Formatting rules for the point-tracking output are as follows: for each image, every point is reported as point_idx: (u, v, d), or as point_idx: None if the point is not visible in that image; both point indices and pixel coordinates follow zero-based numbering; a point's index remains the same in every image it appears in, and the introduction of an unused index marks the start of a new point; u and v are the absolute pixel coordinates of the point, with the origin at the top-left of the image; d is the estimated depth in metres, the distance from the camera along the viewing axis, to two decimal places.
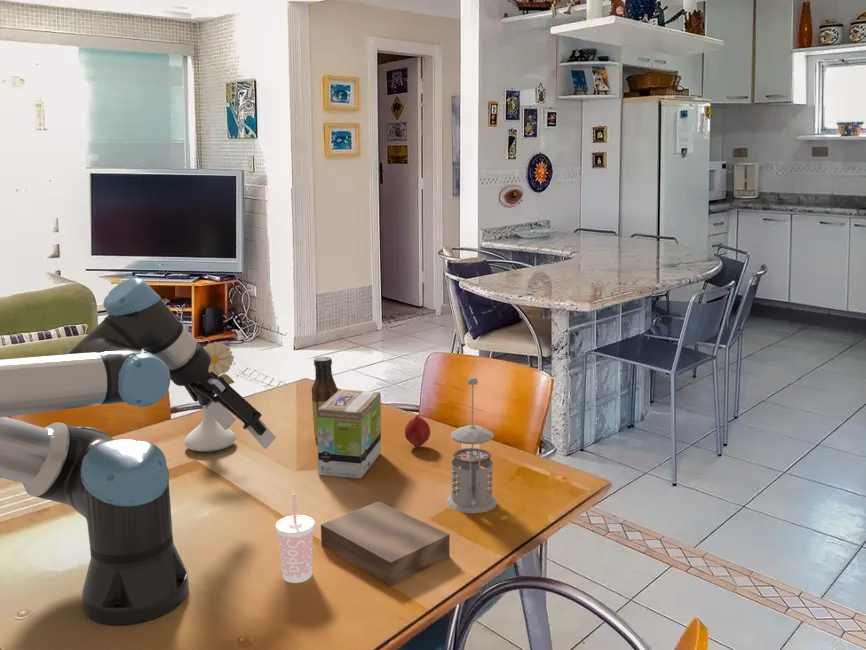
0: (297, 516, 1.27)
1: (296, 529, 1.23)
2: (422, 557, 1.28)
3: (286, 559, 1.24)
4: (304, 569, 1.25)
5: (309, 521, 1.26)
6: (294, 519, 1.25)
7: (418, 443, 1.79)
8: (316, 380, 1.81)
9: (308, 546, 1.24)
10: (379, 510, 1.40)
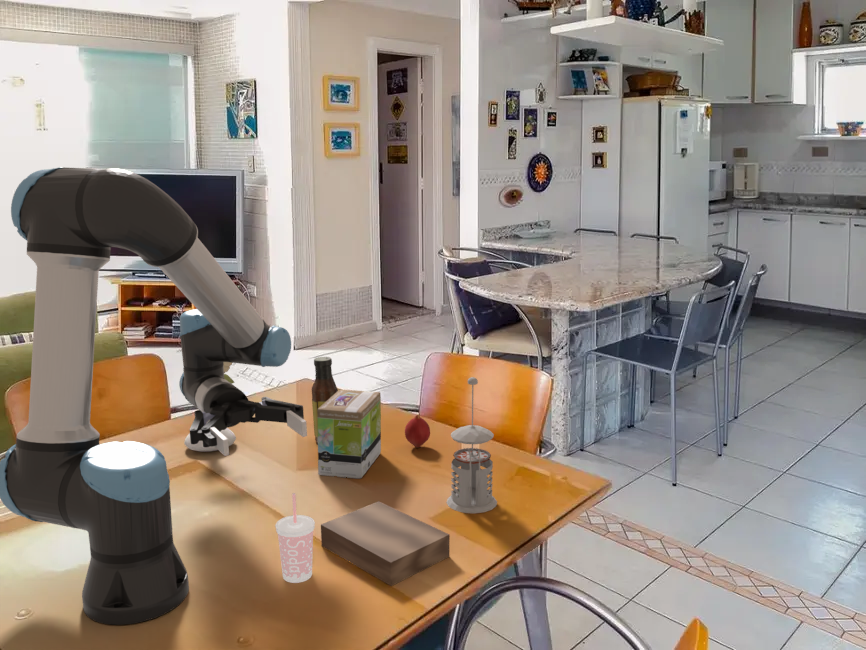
0: (297, 516, 1.27)
1: (296, 529, 1.23)
2: (422, 557, 1.28)
3: (286, 559, 1.24)
4: (304, 569, 1.25)
5: (309, 521, 1.26)
6: (294, 519, 1.25)
7: (418, 443, 1.79)
8: (316, 380, 1.81)
9: (308, 546, 1.24)
10: (379, 510, 1.40)
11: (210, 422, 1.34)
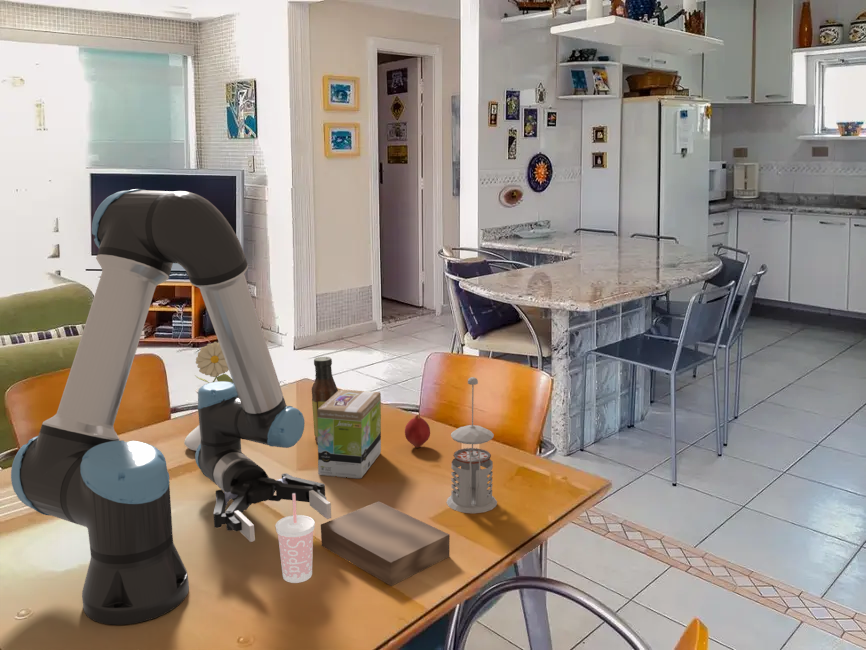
0: (297, 516, 1.27)
1: (296, 529, 1.23)
2: (422, 557, 1.28)
3: (286, 559, 1.24)
4: (304, 569, 1.25)
5: (309, 521, 1.26)
6: (294, 519, 1.25)
7: (418, 443, 1.79)
8: (316, 380, 1.81)
9: (308, 546, 1.24)
10: (379, 510, 1.40)
11: (233, 504, 1.33)
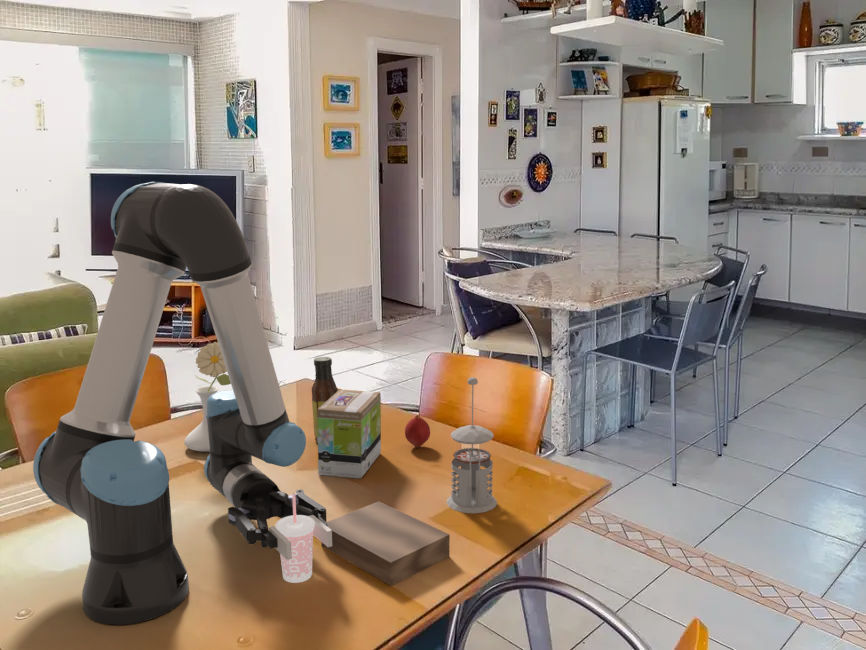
0: (297, 516, 1.27)
1: (296, 529, 1.23)
2: (422, 557, 1.28)
3: None
4: (304, 569, 1.25)
5: (309, 521, 1.26)
6: (294, 519, 1.25)
7: (418, 443, 1.79)
8: (316, 380, 1.81)
9: (308, 546, 1.24)
10: (379, 510, 1.40)
11: (261, 520, 1.27)
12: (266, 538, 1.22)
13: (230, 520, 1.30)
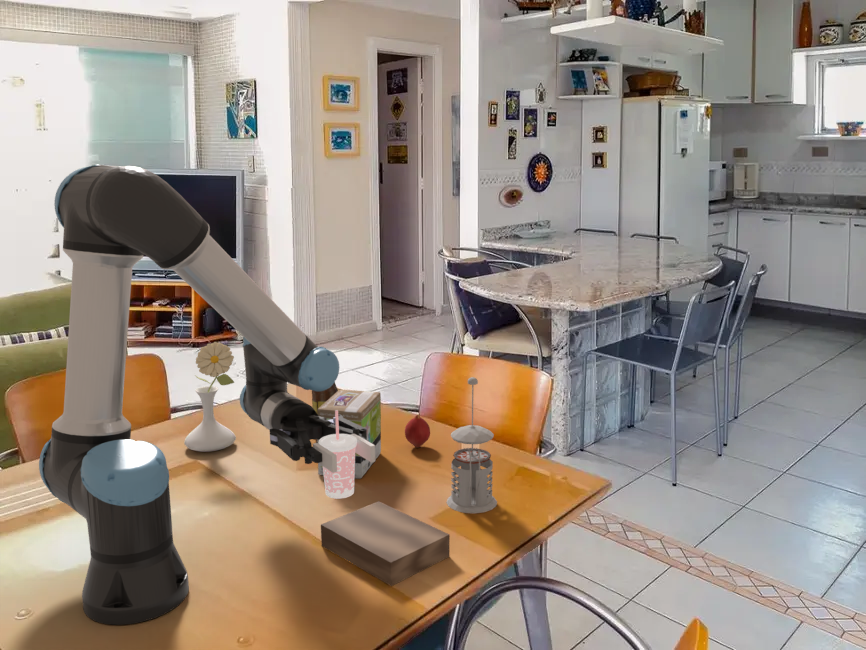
0: (339, 434, 1.29)
1: (339, 445, 1.25)
2: (422, 557, 1.28)
3: (330, 475, 1.26)
4: (347, 485, 1.26)
5: (351, 438, 1.28)
6: (337, 436, 1.26)
7: (418, 443, 1.79)
8: None
9: (351, 462, 1.26)
10: (379, 510, 1.40)
11: (304, 438, 1.28)
12: (310, 453, 1.24)
13: (272, 441, 1.32)
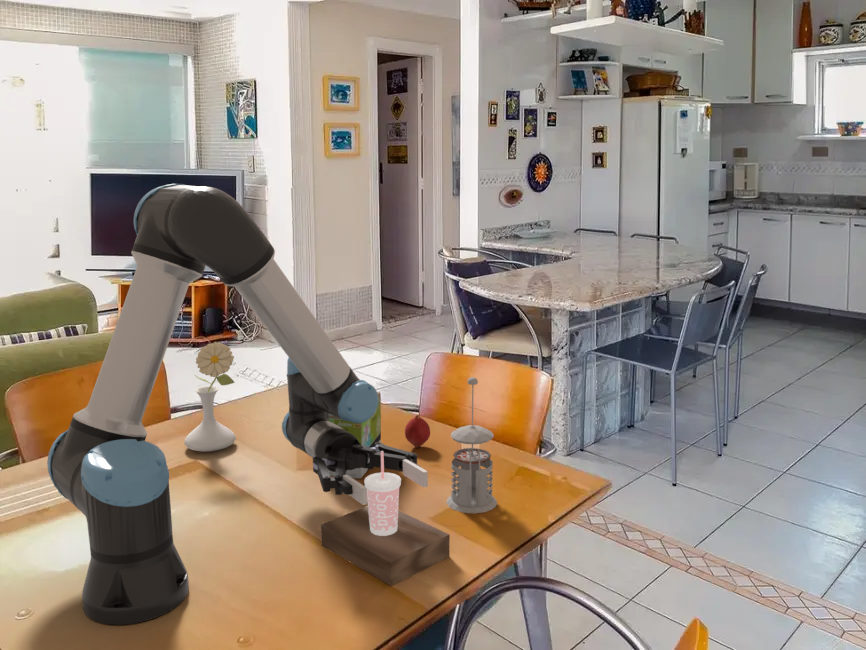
0: None
1: (385, 484, 1.30)
2: (422, 557, 1.28)
3: (375, 513, 1.30)
4: (391, 523, 1.31)
5: (395, 478, 1.32)
6: (382, 475, 1.31)
7: (418, 443, 1.79)
8: None
9: (396, 500, 1.31)
10: None
11: (338, 469, 1.33)
12: (341, 485, 1.28)
13: (314, 469, 1.37)
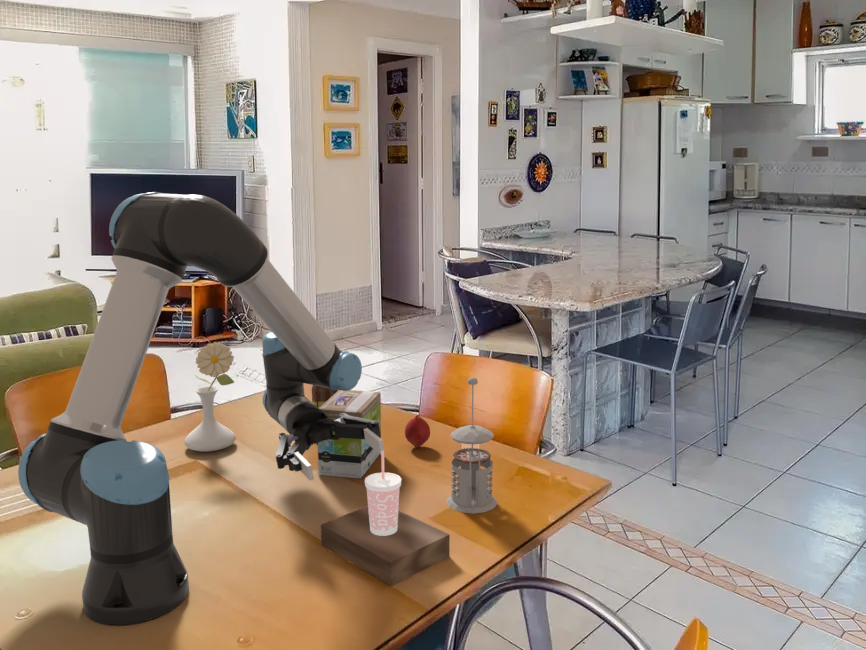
0: (383, 473, 1.34)
1: (385, 484, 1.30)
2: (422, 557, 1.28)
3: (375, 513, 1.30)
4: (392, 523, 1.31)
5: (396, 478, 1.32)
6: (382, 475, 1.31)
7: (418, 443, 1.79)
8: None
9: (396, 500, 1.31)
10: None
11: (294, 446, 1.43)
12: (291, 462, 1.38)
13: None
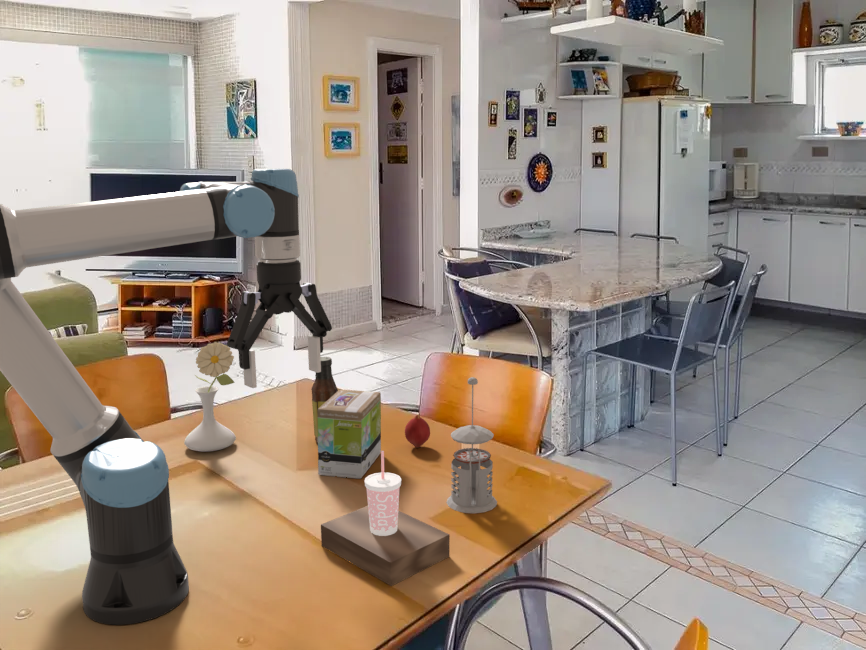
0: (383, 473, 1.34)
1: (385, 484, 1.30)
2: (422, 557, 1.28)
3: (375, 513, 1.30)
4: (392, 523, 1.31)
5: (396, 478, 1.32)
6: (382, 475, 1.31)
7: (418, 443, 1.79)
8: (316, 380, 1.81)
9: (396, 500, 1.31)
10: None
11: None
12: None
13: None
